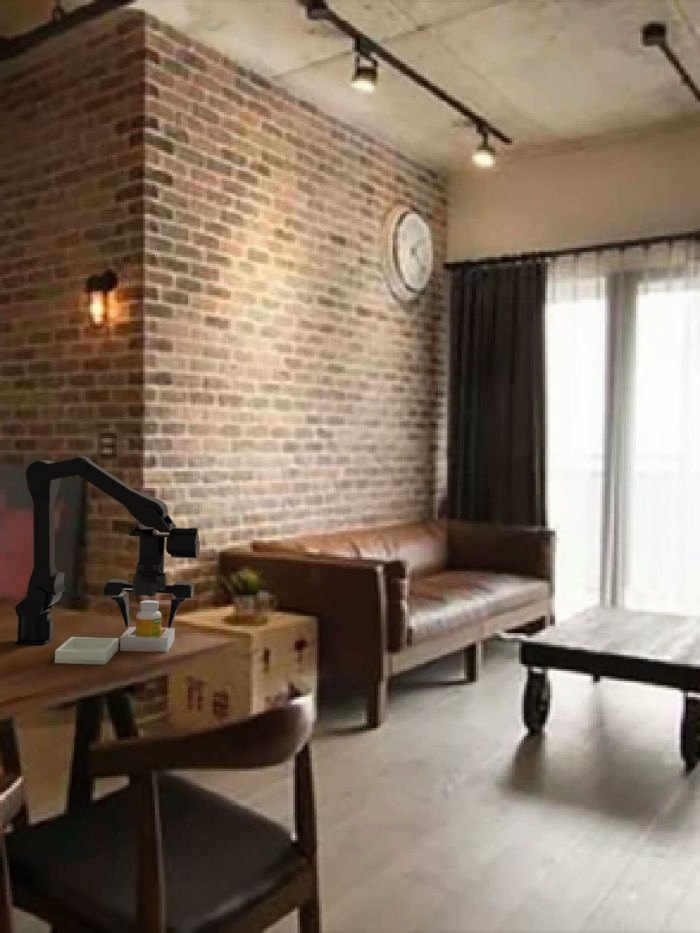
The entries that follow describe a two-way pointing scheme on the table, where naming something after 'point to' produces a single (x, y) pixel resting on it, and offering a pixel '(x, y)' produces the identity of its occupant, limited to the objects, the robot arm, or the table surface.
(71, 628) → the table surface
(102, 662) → the tray
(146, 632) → the supplement bottle
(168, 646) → the sleeve holder
